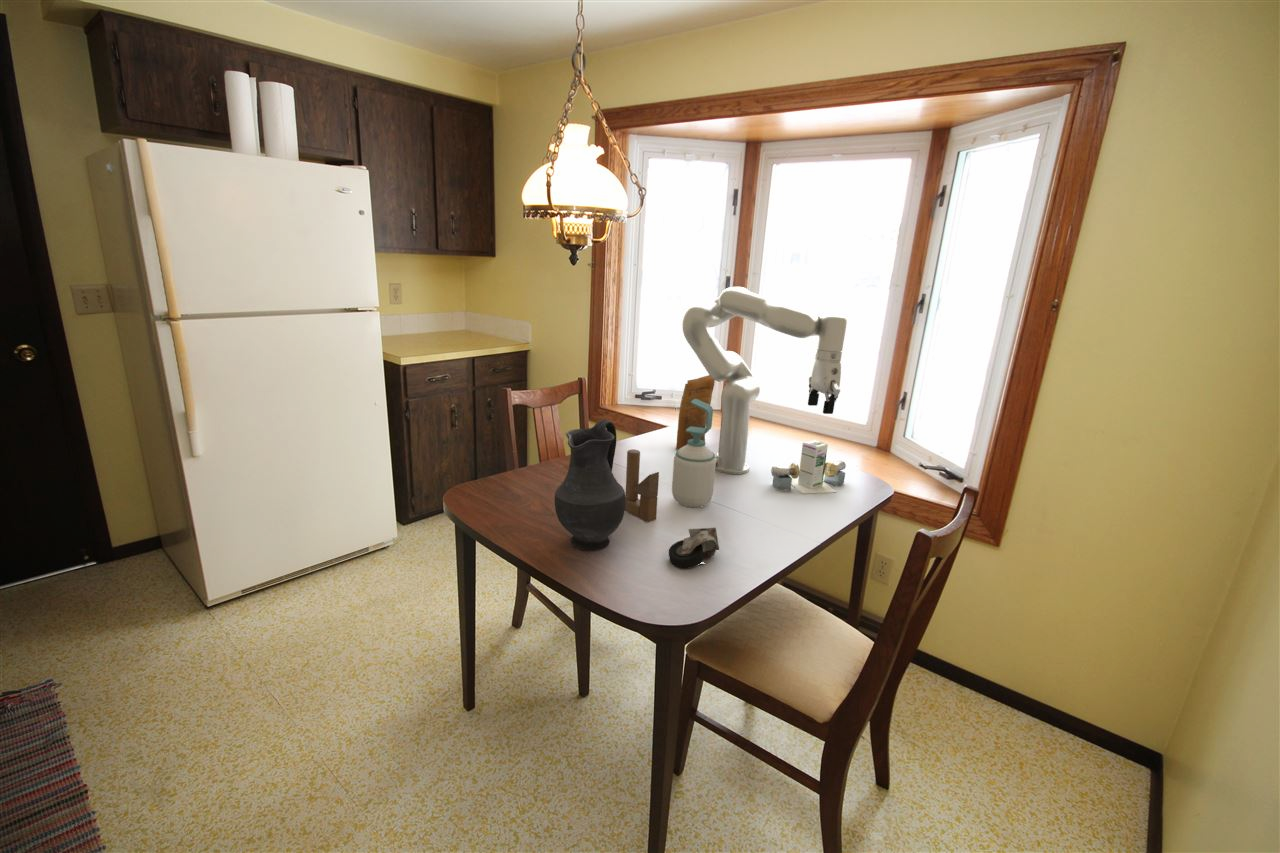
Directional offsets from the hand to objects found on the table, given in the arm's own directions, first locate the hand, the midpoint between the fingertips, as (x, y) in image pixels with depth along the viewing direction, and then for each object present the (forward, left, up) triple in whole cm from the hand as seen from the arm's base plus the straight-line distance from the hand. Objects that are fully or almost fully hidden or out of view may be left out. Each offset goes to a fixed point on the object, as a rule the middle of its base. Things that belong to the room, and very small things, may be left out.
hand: (819, 409), depth 176 cm
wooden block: (-57, -26, -26) cm, 68 cm away
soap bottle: (-41, -16, -26) cm, 51 cm away
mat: (0, 0, -26) cm, 26 cm away
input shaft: (-10, -2, -26) cm, 28 cm away
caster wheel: (-44, -51, -26) cm, 72 cm away
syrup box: (0, 0, -26) cm, 26 cm away
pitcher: (-69, -41, -26) cm, 84 cm away
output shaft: (+10, +4, -26) cm, 28 cm away
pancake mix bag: (-35, +37, -26) cm, 57 cm away
